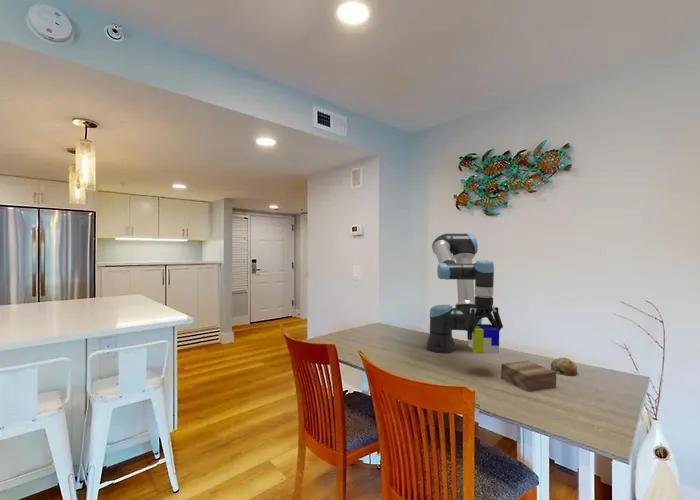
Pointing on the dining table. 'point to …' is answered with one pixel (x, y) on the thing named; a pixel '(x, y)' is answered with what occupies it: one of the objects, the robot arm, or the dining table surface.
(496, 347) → the puzzle toy
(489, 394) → the dining table surface
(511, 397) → the dining table surface
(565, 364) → the bread roll
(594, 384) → the dining table surface
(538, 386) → the walnut plinth
